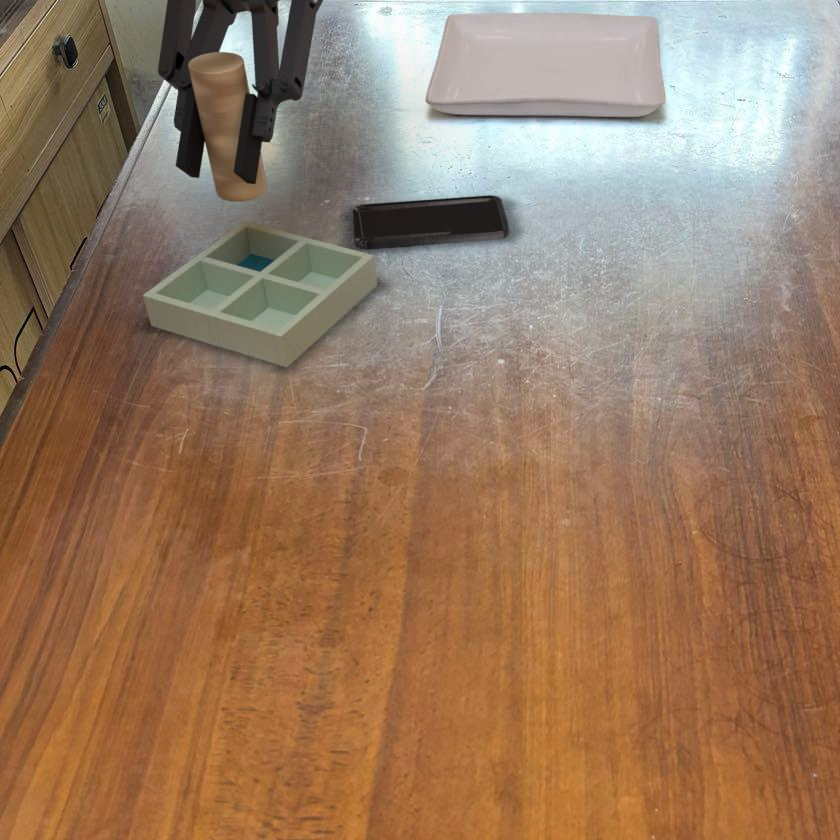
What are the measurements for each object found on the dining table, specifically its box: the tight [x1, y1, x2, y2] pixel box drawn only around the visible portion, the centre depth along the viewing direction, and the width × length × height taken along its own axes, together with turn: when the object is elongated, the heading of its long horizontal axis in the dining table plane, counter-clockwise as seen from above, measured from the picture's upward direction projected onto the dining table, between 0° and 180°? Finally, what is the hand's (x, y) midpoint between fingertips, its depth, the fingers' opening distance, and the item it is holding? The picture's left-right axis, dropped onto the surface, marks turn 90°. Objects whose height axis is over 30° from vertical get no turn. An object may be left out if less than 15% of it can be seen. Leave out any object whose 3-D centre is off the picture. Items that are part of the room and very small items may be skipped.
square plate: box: [425, 12, 667, 118], centre depth 135 cm, size 27×27×4 cm
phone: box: [352, 194, 510, 250], centre depth 109 cm, size 8×1×15 cm
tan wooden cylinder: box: [188, 51, 268, 203], centre depth 93 cm, size 4×4×11 cm
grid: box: [142, 221, 379, 368], centre depth 98 cm, size 14×14×4 cm
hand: (216, 174), depth 91 cm, fingers closed on tan wooden cylinder, 4 cm apart
